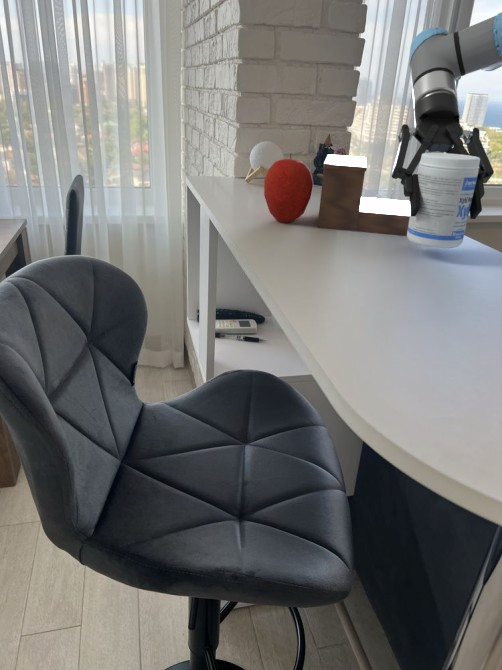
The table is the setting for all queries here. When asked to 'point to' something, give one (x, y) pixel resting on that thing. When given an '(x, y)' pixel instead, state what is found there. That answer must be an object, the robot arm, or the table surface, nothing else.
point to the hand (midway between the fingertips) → (445, 213)
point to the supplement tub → (443, 199)
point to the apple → (288, 189)
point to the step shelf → (357, 201)
